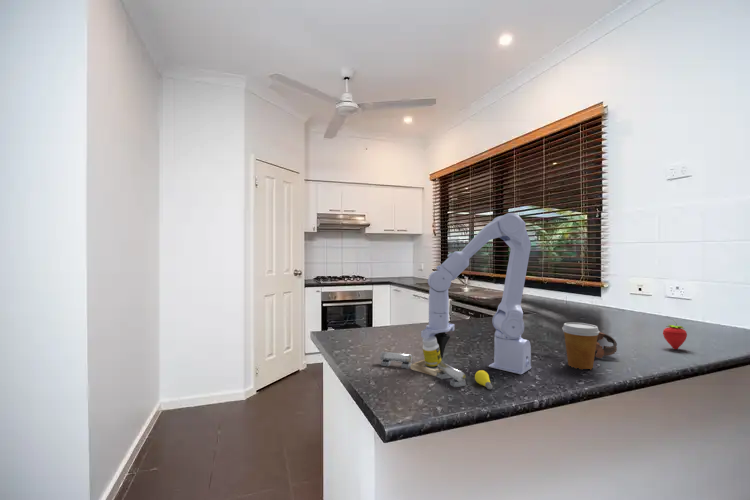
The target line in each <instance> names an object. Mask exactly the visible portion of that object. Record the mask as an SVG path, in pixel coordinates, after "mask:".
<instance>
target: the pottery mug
mask: <svg viewBox="0 0 750 500" xmlns="http://www.w3.org/2000/svg"><path fill="white" fill-rule="evenodd" d="M603 339H606V340H607V342H608V343H610V344H612V345H610V346H607V345H603V346H602V345H601V344H600V342H599V340H600V341H602V340H603ZM617 345H618V343H617V341H616V340H615V338H614V337H612V336H611V335H609V334H607V333H604V332H600V333H599V334H598V336H597V343H596V350H595V357H596V358H598V359H600V358H601V359H602V358H604V357H607V356H611V355H614V354H616V352H617V351H618V348H617Z"/></svg>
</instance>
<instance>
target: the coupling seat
mask: <svg viewBox="0 0 750 500" xmlns="http://www.w3.org/2000/svg"><path fill="white" fill-rule="evenodd" d="M410 370H413V371H416V372H420V373H423V374H425V375H429V376H433V377H437V372H441V371H439V370H438V368H437V369H430V368H427V367H426V364H425V359H421V360H418V361H416V362H412V363H411V366H410Z"/></svg>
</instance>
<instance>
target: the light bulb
mask: <svg viewBox="0 0 750 500" xmlns="http://www.w3.org/2000/svg"><path fill="white" fill-rule="evenodd" d="M474 381H476V383H477V384H479V385H480V386H484V387H485V388H486V389H487V390H492V389H493V384H492V383H491V380H490V375H489V373H488V372H487V371H485V370H483V369H481V370H477V371H476V372H475V374H474Z"/></svg>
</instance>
